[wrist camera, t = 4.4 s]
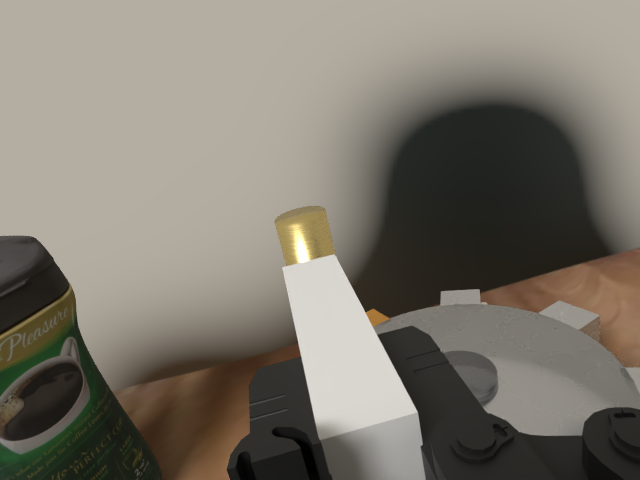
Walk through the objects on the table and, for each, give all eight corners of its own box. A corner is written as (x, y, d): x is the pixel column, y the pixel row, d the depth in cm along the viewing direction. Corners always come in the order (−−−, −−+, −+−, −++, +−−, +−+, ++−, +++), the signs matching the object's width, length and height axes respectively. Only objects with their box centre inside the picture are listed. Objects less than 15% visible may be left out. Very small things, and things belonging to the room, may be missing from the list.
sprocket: (527, 288, 37) (516, 112, 32) (836, 516, 18) (931, 167, 13) (277, 358, 36) (225, 186, 31) (320, 692, 16) (197, 373, 11)
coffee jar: (109, 450, 35) (-7, 223, 28) (184, 478, 31) (70, 219, 24) (-26, 579, 27) (-229, 308, 20) (50, 637, 23) (-172, 324, 16)
